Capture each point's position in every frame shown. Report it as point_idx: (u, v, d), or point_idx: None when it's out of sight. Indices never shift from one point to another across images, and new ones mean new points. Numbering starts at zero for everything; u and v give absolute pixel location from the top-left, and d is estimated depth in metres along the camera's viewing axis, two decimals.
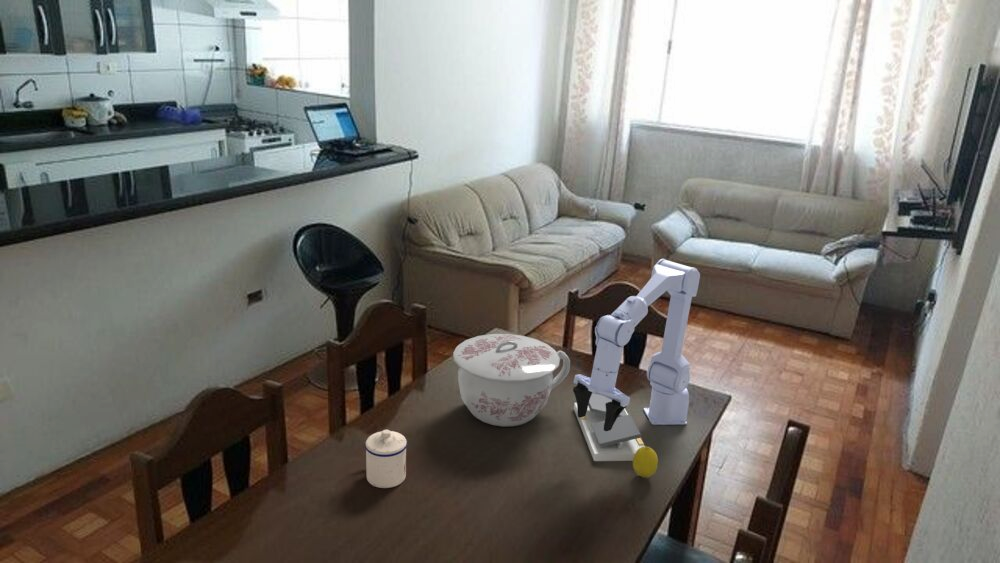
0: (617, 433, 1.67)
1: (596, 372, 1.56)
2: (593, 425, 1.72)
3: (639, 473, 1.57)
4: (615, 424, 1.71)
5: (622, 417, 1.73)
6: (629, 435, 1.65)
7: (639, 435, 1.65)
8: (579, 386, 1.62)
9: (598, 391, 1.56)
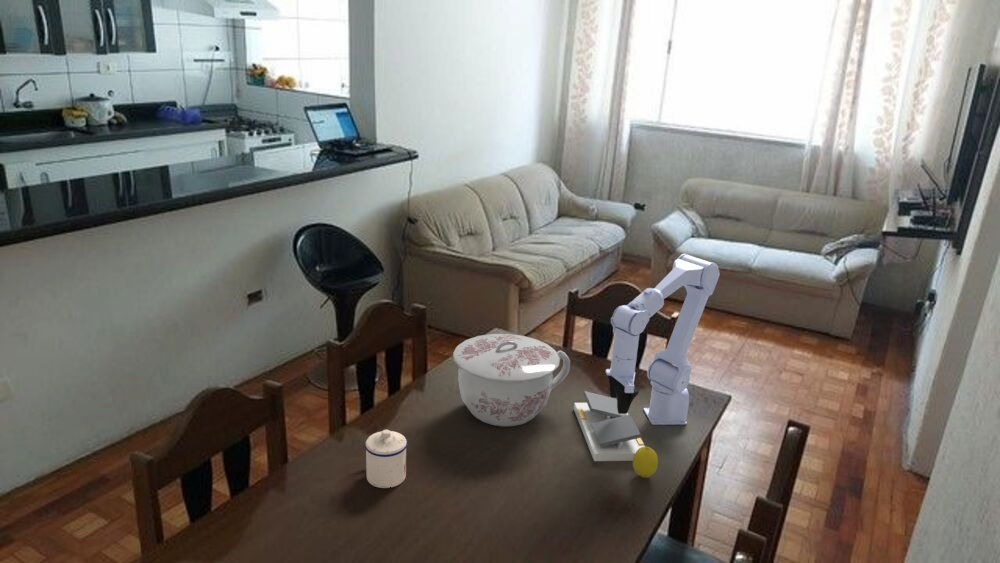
0: (617, 433, 1.67)
1: (612, 356, 1.67)
2: (593, 425, 1.72)
3: (639, 473, 1.57)
4: (615, 424, 1.71)
5: (622, 417, 1.73)
6: (629, 435, 1.65)
7: (639, 435, 1.65)
8: None
9: (612, 374, 1.66)
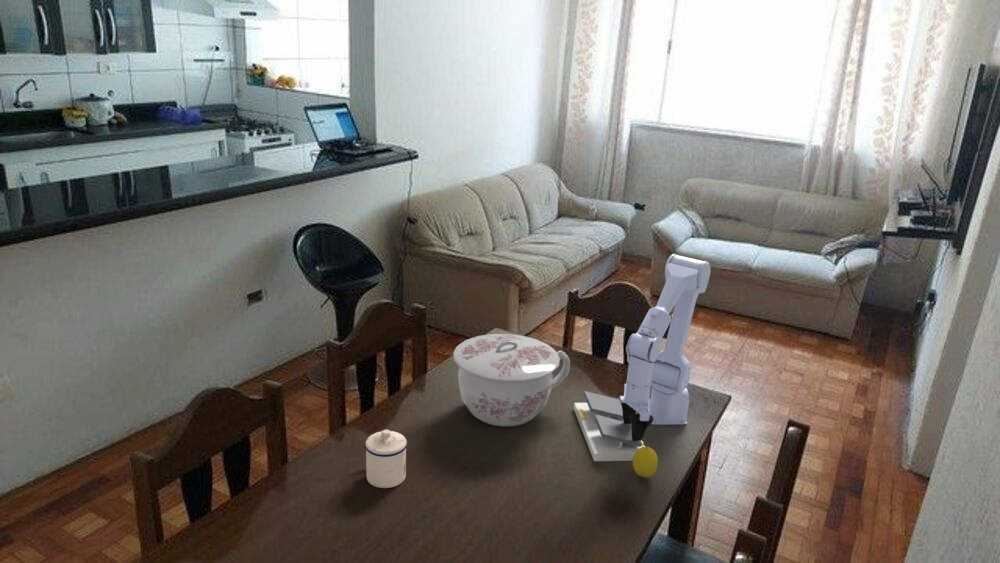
0: (620, 433, 1.67)
1: (626, 383, 1.66)
2: (597, 416, 1.71)
3: (639, 473, 1.57)
4: (618, 425, 1.71)
5: None
6: (631, 440, 1.66)
7: (640, 444, 1.66)
8: None
9: (626, 401, 1.65)
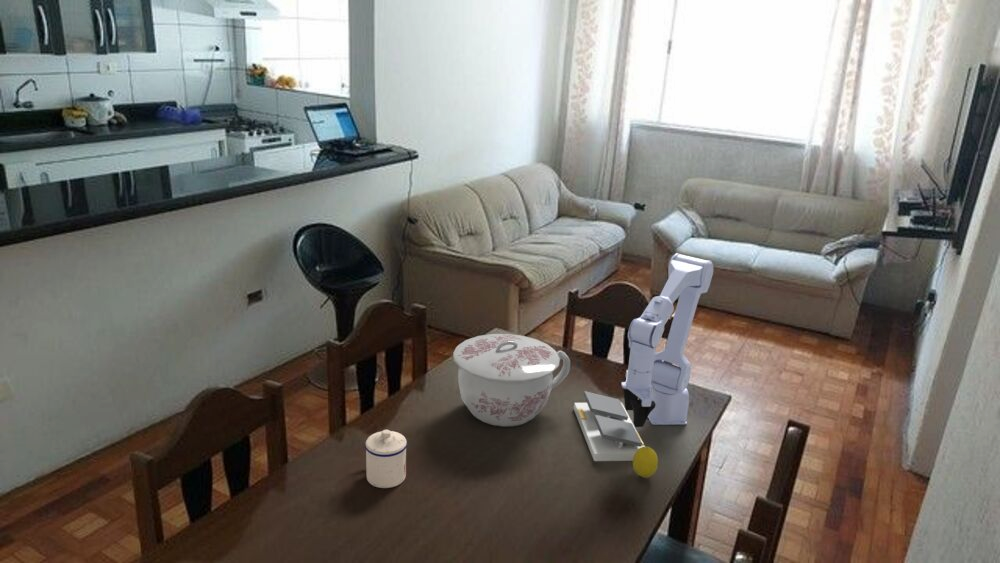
0: (620, 433, 1.67)
1: (628, 369, 1.64)
2: (597, 416, 1.71)
3: (639, 473, 1.57)
4: (618, 425, 1.71)
5: (624, 422, 1.73)
6: (631, 440, 1.66)
7: (640, 444, 1.66)
8: None
9: (628, 387, 1.64)
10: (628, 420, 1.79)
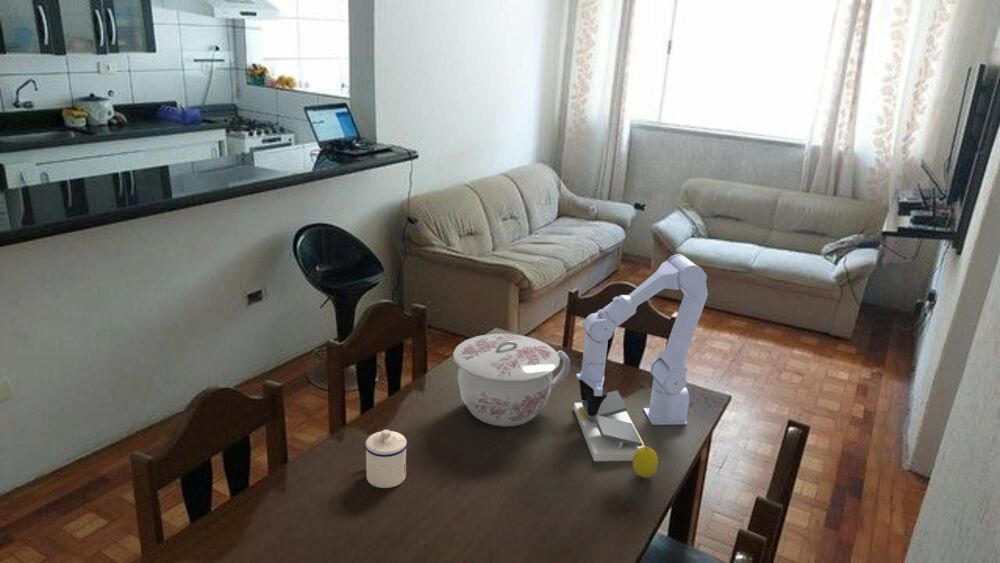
0: (620, 433, 1.67)
1: None
2: (597, 416, 1.71)
3: (639, 473, 1.57)
4: (618, 425, 1.71)
5: (624, 422, 1.73)
6: (631, 440, 1.66)
7: (640, 444, 1.66)
8: None
9: (582, 378, 1.76)
10: (628, 420, 1.79)
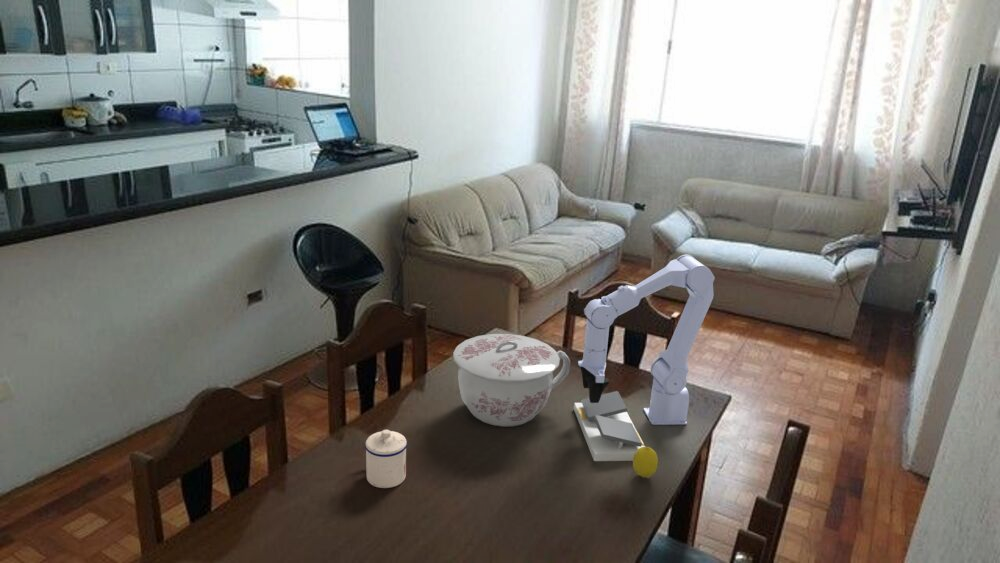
0: (620, 433, 1.67)
1: (584, 348, 1.75)
2: (597, 416, 1.71)
3: (639, 473, 1.57)
4: (618, 425, 1.71)
5: (624, 422, 1.73)
6: (631, 440, 1.66)
7: (640, 444, 1.66)
8: None
9: (583, 365, 1.75)
10: (628, 420, 1.79)
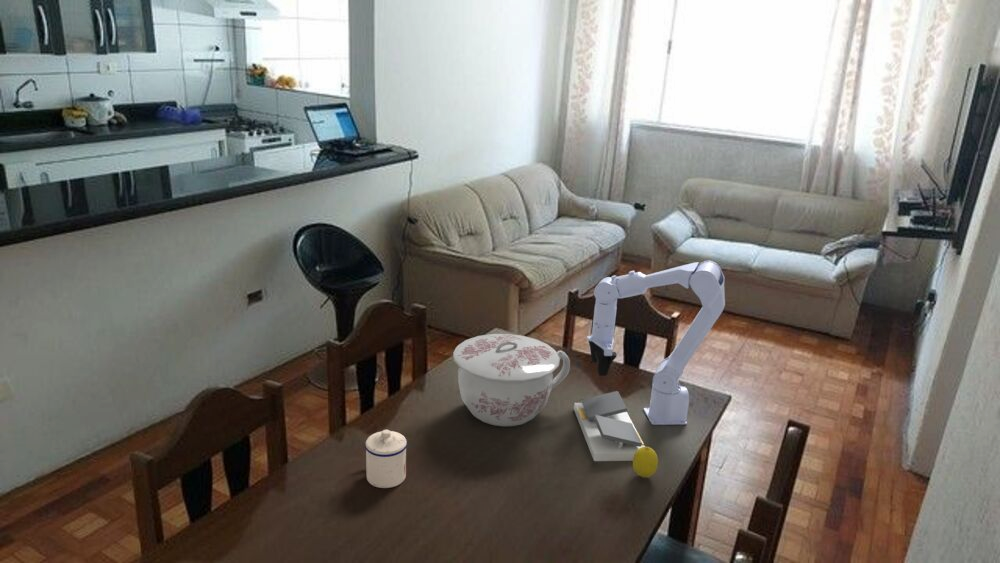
0: (620, 433, 1.67)
1: (593, 324, 1.84)
2: (597, 416, 1.71)
3: (639, 473, 1.57)
4: (618, 425, 1.71)
5: (624, 422, 1.73)
6: (631, 440, 1.66)
7: (640, 444, 1.66)
8: None
9: (592, 340, 1.84)
10: (628, 420, 1.79)
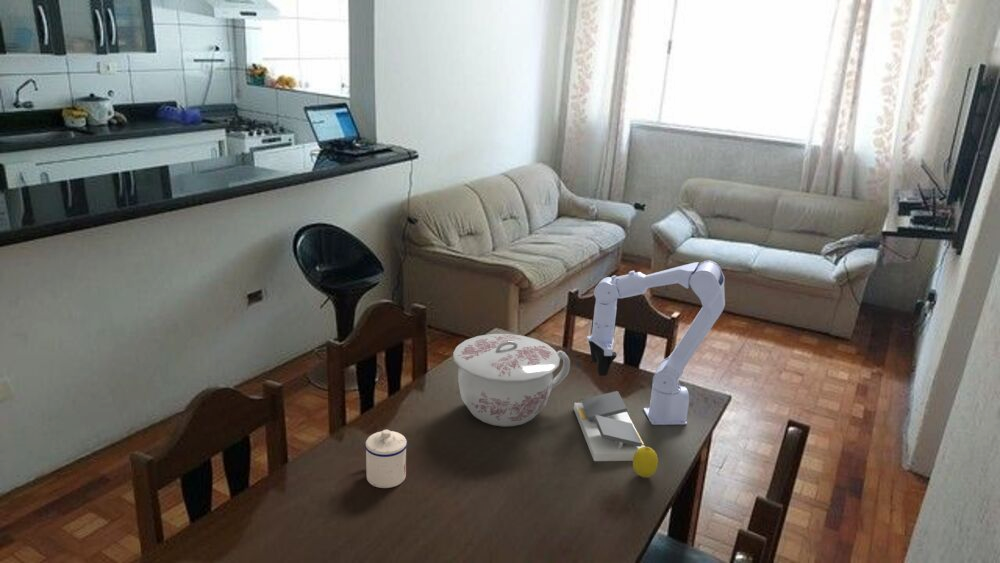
0: (620, 433, 1.67)
1: (593, 324, 1.84)
2: (597, 416, 1.71)
3: (639, 473, 1.57)
4: (618, 425, 1.71)
5: (624, 422, 1.73)
6: (631, 440, 1.66)
7: (640, 444, 1.66)
8: None
9: (592, 340, 1.84)
10: (628, 420, 1.79)
